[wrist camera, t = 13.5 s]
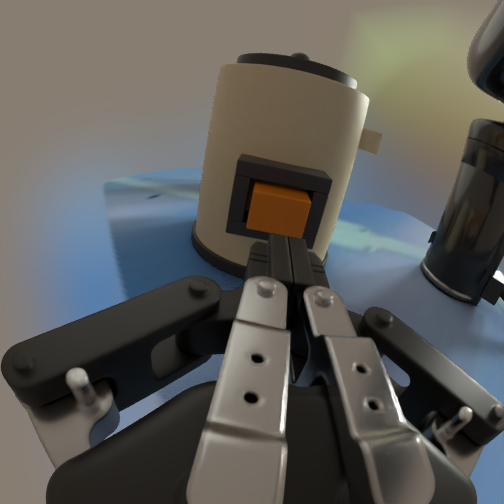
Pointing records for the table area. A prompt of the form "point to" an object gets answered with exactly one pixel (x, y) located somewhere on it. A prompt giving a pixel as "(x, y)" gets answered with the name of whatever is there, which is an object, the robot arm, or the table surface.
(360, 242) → the table surface
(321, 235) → the kettle
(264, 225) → the kettle switch
